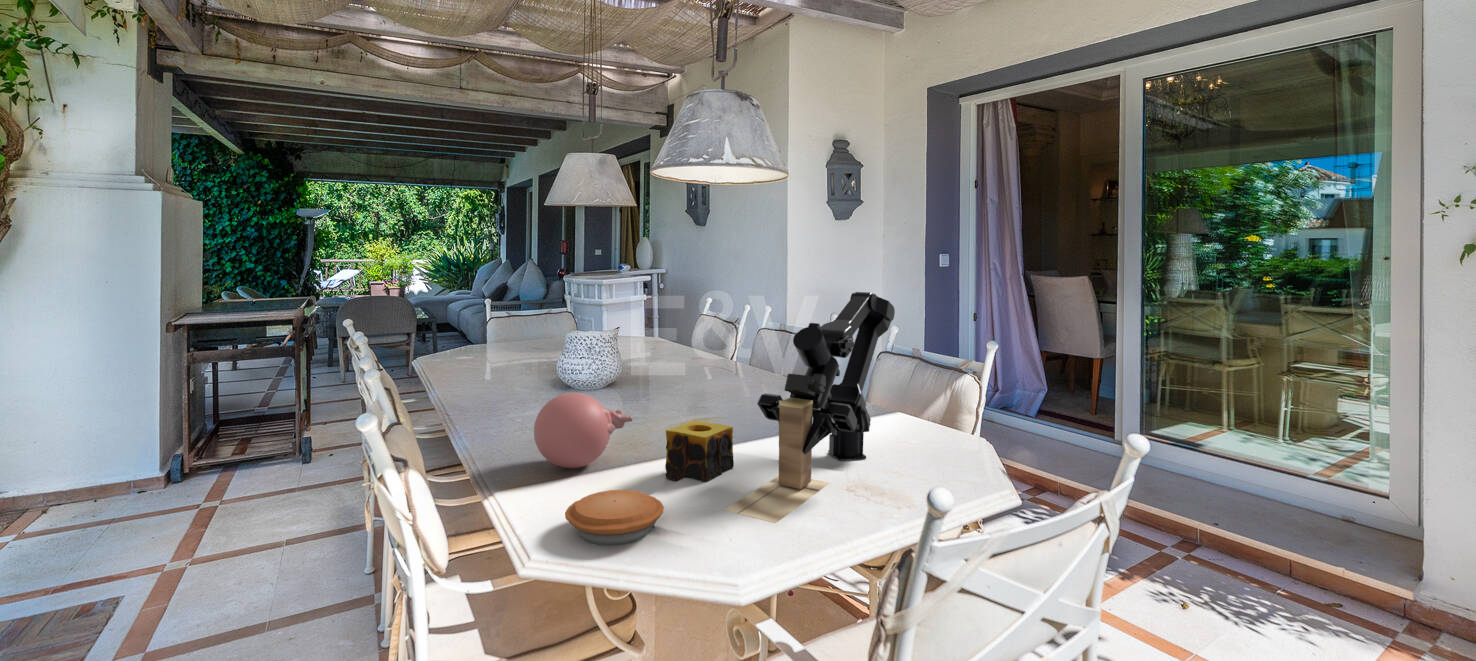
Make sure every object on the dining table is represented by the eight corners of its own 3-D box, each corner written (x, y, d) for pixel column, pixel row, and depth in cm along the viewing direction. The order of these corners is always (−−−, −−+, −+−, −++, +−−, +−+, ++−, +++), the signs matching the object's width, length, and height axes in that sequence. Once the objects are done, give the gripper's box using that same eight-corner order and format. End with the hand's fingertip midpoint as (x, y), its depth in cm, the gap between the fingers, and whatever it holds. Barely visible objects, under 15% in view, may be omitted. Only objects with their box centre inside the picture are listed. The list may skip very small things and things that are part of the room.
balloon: (635, 475, 134) (634, 399, 132) (530, 480, 130) (528, 403, 128) (632, 452, 149) (631, 384, 147) (538, 456, 145) (536, 387, 143)
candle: (706, 489, 127) (706, 438, 125) (663, 479, 132) (663, 430, 131) (734, 474, 135) (735, 426, 134) (694, 465, 140) (694, 419, 139)
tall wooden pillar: (789, 477, 128) (790, 397, 126) (811, 481, 126) (812, 400, 124) (778, 484, 124) (779, 402, 122) (800, 489, 122) (802, 405, 120)
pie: (601, 506, 118) (601, 479, 117) (680, 520, 112) (680, 491, 112) (545, 541, 104) (544, 510, 103) (631, 559, 98) (631, 526, 97)
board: (782, 479, 132) (783, 473, 132) (830, 488, 127) (830, 482, 127) (723, 516, 113) (723, 510, 113) (775, 529, 108) (776, 522, 108)
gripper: (762, 352, 130) (732, 420, 122) (853, 361, 121) (827, 435, 113) (780, 385, 138) (753, 451, 130) (867, 396, 129) (843, 467, 121)
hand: (792, 450), depth 123 cm, fingers closed on tall wooden pillar, 4 cm apart
